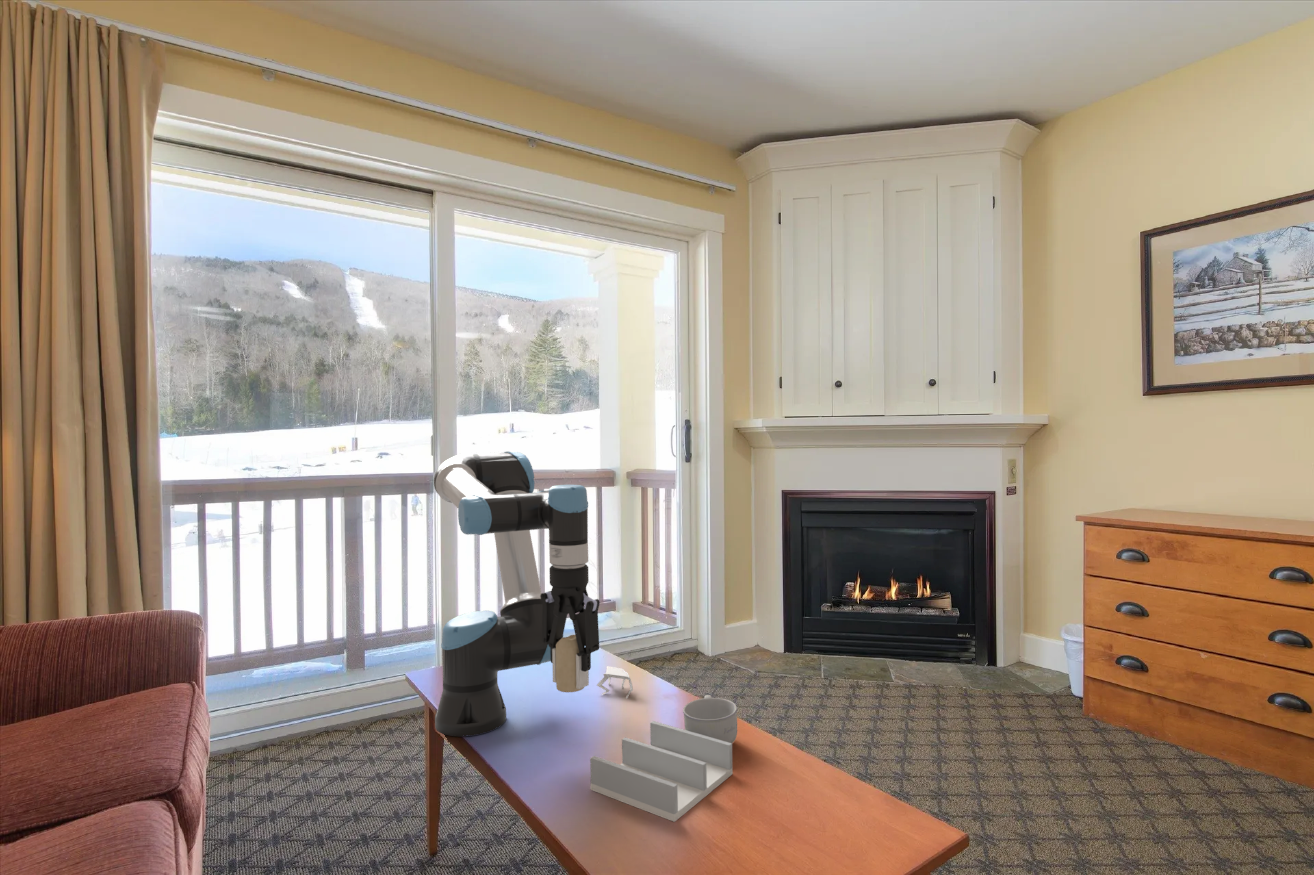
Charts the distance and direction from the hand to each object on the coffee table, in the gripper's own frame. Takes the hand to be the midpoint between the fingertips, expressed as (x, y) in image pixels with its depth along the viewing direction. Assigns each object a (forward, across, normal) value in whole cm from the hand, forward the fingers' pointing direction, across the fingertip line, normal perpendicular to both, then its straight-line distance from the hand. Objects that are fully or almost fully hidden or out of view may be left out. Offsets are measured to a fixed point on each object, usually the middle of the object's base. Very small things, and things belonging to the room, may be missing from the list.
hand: (570, 683), depth 136 cm
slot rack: (+15, +20, +2) cm, 25 cm away
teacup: (+15, +19, +21) cm, 32 cm away
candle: (+1, 0, 0) cm, 1 cm away
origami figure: (+15, -14, +32) cm, 38 cm away
